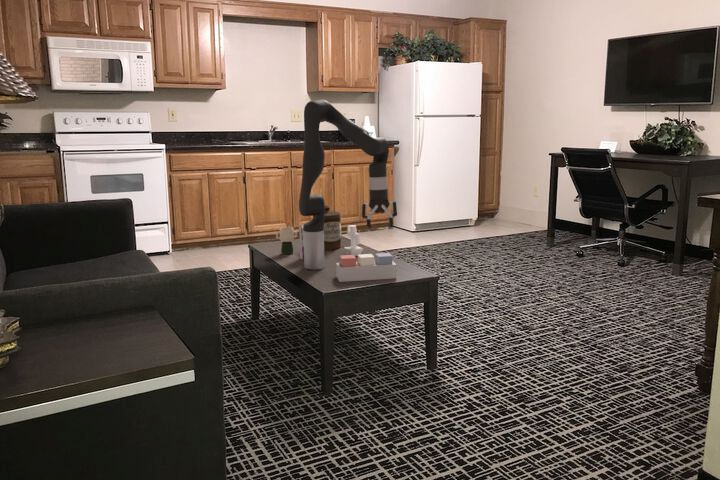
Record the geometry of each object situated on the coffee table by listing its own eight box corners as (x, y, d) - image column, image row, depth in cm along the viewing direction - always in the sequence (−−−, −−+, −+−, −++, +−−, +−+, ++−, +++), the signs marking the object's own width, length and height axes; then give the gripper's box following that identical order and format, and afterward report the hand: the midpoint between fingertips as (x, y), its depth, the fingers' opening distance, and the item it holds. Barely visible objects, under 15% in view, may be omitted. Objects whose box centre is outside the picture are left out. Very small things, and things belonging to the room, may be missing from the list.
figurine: (352, 257, 285) (351, 227, 282) (342, 254, 293) (342, 224, 290) (364, 255, 289) (364, 226, 286) (355, 252, 297) (354, 223, 294)
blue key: (375, 264, 253) (375, 253, 252) (388, 264, 254) (388, 252, 253) (378, 268, 247) (378, 256, 246) (392, 267, 248) (392, 255, 247)
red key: (339, 266, 250) (339, 255, 249) (353, 266, 251) (353, 254, 250) (342, 270, 244) (341, 258, 243) (356, 269, 245) (356, 258, 244)
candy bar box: (321, 256, 289) (320, 223, 286) (324, 258, 285) (323, 225, 281) (299, 258, 285) (298, 225, 282) (302, 260, 281) (301, 226, 277)
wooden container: (320, 251, 300) (319, 208, 296) (309, 245, 313) (307, 205, 309) (346, 247, 307) (345, 206, 303) (334, 242, 320) (333, 202, 315)
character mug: (296, 251, 301) (295, 226, 298) (299, 254, 294) (298, 228, 291) (275, 253, 297) (274, 227, 294) (278, 256, 290) (277, 230, 288)
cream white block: (357, 265, 252) (357, 254, 251) (371, 265, 253) (371, 253, 252) (360, 269, 246) (360, 257, 245) (374, 268, 247) (374, 256, 246)
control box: (336, 276, 252) (336, 262, 251) (391, 273, 257) (391, 259, 255) (339, 281, 244) (339, 267, 242) (396, 278, 248) (396, 264, 247)
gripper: (394, 186, 241) (395, 225, 244) (360, 188, 240) (361, 227, 243) (397, 188, 233) (398, 228, 236) (361, 189, 232) (363, 230, 235)
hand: (379, 227), depth 240 cm, fingers open, 8 cm apart
